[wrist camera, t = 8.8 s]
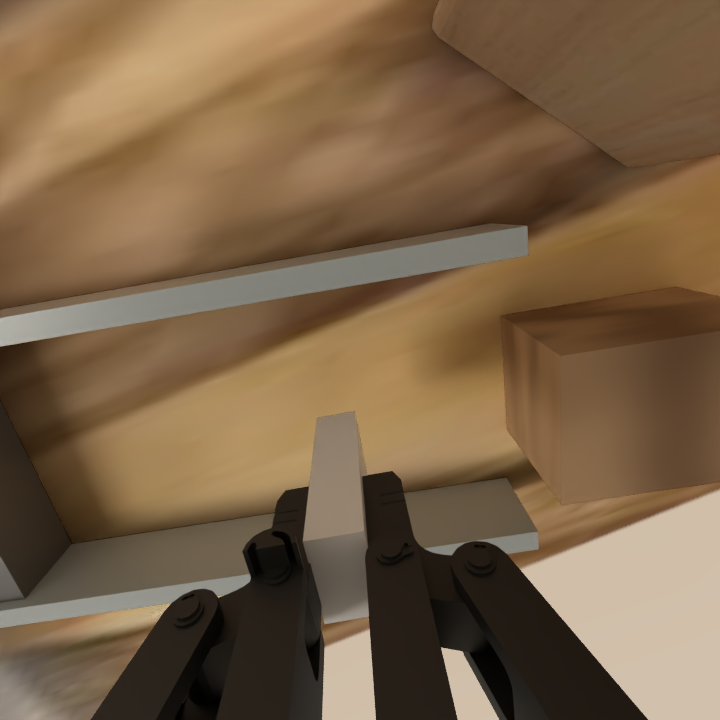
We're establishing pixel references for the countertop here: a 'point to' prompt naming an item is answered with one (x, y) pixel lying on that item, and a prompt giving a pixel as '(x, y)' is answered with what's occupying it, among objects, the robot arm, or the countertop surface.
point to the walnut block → (616, 393)
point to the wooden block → (604, 67)
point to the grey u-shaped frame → (228, 538)
